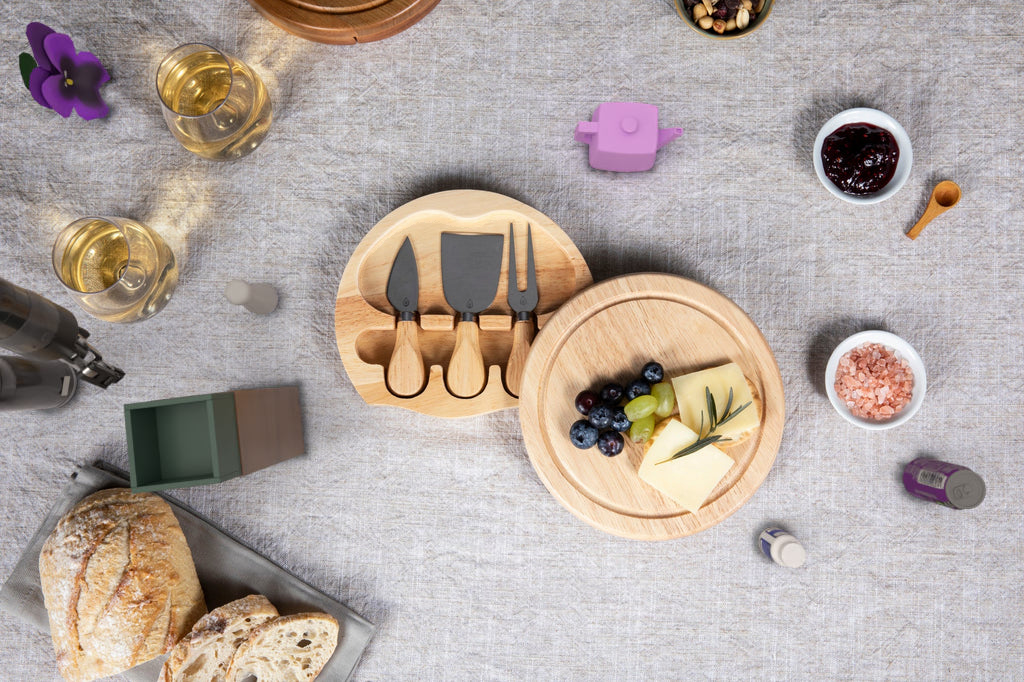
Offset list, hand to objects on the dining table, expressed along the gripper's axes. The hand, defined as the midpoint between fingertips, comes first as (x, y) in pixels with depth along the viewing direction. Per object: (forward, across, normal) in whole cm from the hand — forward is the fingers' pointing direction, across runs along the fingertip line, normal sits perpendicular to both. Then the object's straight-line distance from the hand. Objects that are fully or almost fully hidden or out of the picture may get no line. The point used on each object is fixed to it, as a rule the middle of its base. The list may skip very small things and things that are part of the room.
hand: (101, 357), depth 98 cm
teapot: (+9, +28, +87) cm, 91 cm away
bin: (-2, +20, +3) cm, 21 cm away
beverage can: (+22, +105, +81) cm, 135 cm away
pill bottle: (+25, +94, +56) cm, 112 cm away
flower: (+10, -51, +24) cm, 57 cm away
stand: (+23, +16, +8) cm, 29 cm away
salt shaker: (+18, +1, +23) cm, 29 cm away
